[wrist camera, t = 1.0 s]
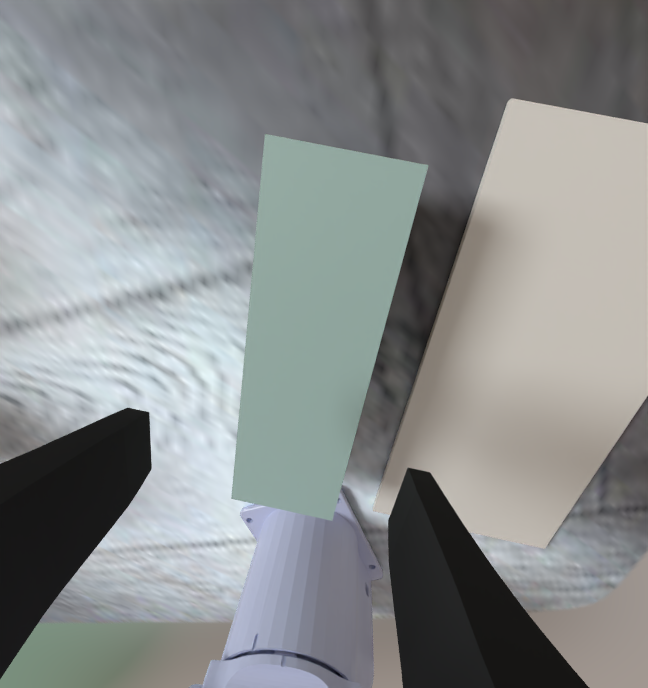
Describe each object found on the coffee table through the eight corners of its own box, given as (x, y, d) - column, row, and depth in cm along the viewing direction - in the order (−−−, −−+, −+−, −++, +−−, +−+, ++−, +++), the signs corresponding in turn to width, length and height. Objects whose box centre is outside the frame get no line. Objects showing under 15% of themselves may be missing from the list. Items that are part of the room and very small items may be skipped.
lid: (334, 496, 19) (332, 520, 18) (241, 476, 19) (231, 498, 18) (420, 170, 12) (428, 165, 11) (276, 142, 13) (264, 134, 11)
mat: (541, 543, 23) (544, 548, 22) (372, 506, 23) (372, 511, 23) (797, 155, 13) (810, 153, 13) (507, 101, 14) (511, 98, 13)
